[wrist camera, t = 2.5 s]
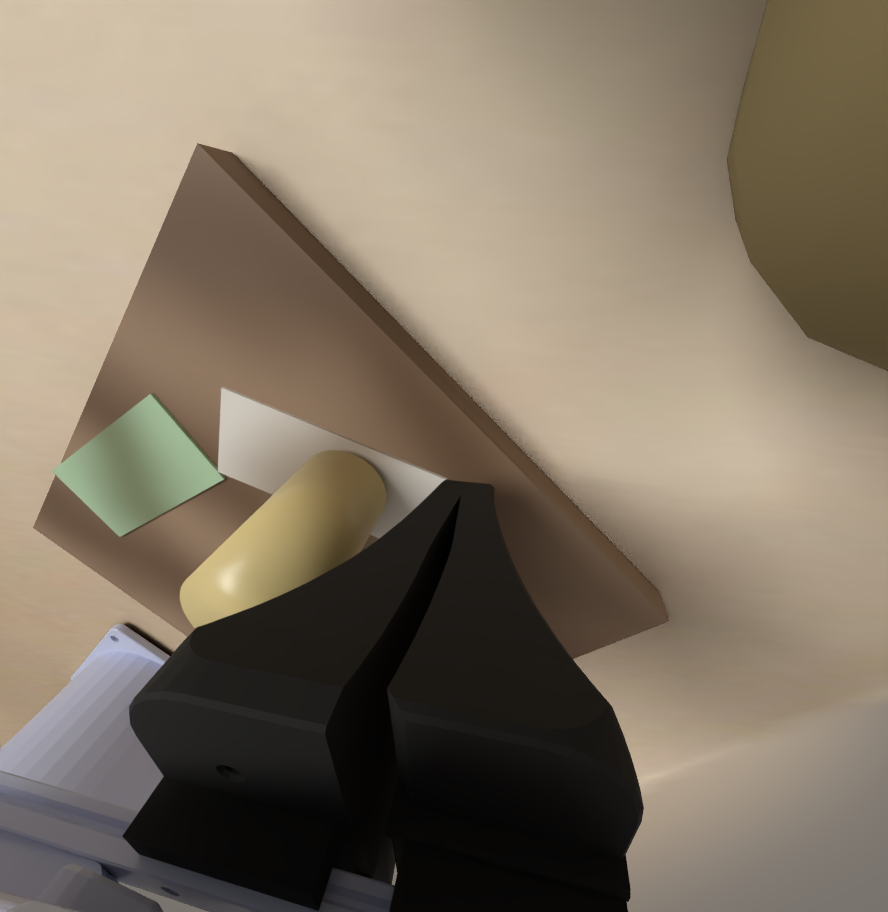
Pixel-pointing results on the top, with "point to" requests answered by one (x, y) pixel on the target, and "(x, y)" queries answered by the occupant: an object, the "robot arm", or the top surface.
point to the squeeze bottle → (819, 168)
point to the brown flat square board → (293, 418)
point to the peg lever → (289, 538)
